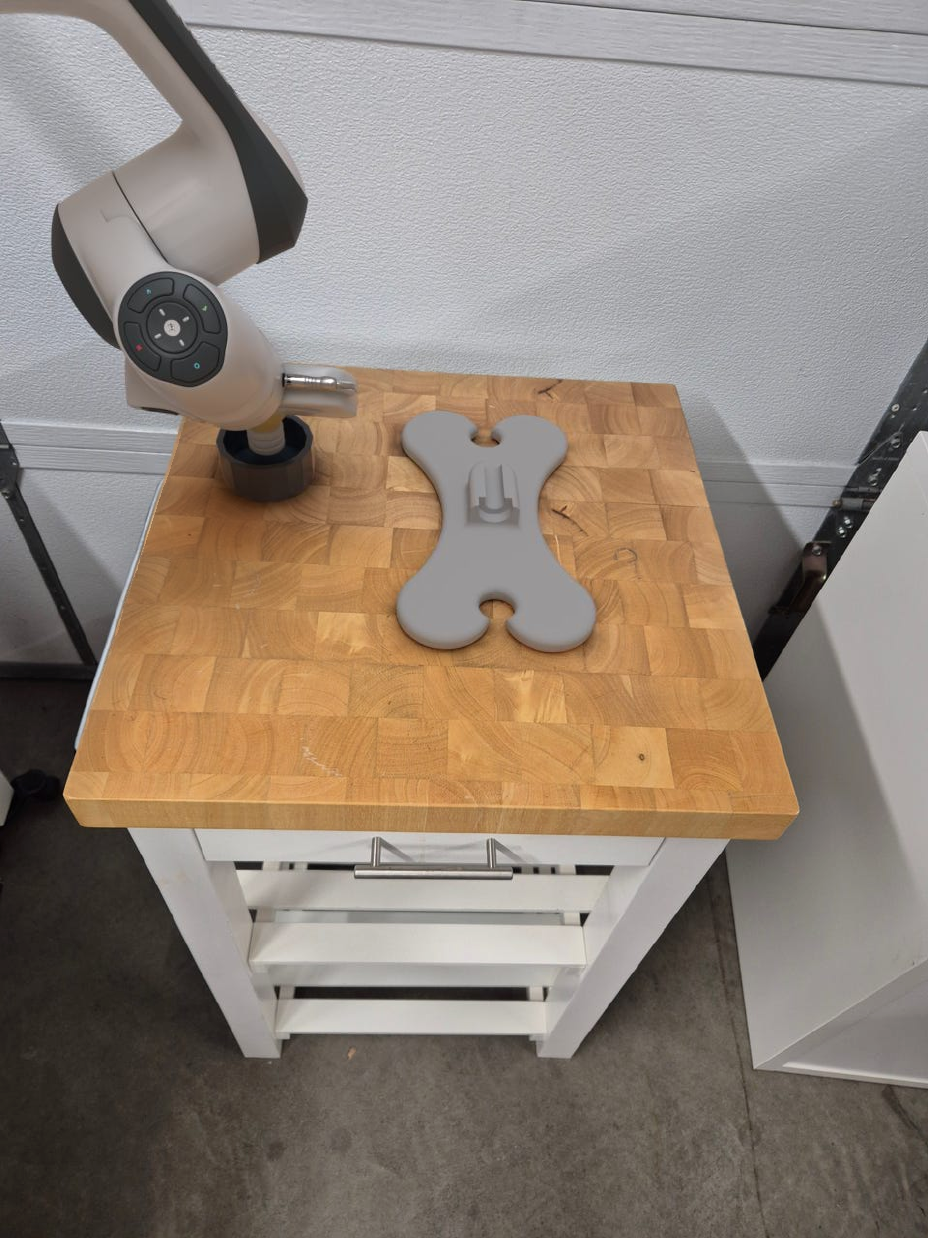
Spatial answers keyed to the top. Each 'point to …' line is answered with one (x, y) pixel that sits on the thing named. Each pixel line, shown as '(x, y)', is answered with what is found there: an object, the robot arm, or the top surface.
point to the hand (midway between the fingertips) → (262, 401)
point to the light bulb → (267, 436)
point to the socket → (268, 463)
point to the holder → (491, 537)
